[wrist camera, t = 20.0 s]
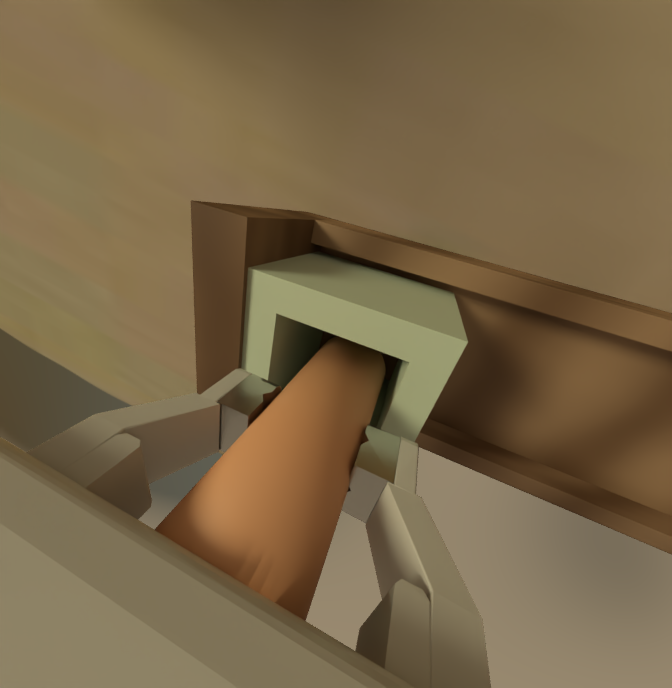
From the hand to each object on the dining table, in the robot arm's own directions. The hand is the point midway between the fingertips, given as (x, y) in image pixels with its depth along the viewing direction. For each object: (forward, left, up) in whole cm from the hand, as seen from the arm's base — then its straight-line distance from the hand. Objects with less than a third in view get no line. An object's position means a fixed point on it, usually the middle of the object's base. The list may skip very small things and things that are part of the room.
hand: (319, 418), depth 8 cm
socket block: (0, 0, -7) cm, 7 cm away
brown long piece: (-7, 0, -10) cm, 12 cm away
